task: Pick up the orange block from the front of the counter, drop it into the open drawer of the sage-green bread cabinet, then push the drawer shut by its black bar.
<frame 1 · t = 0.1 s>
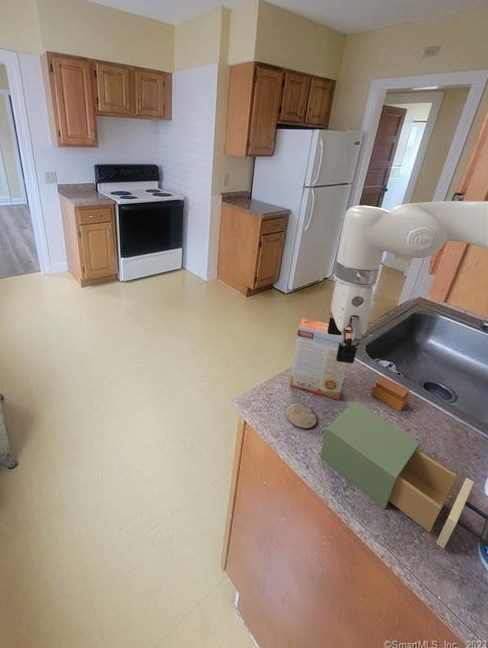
hand: (339, 346, 68), 28 cm above the worktop, tool pointing down, fingers open, 9 cm apart
cracker box: (314, 387, 96), on the worktop
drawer: (432, 495, 63), point 5 cm above the worktop, slide at 8.5 cm
orange block: (388, 398, 92), on the worktop
cabinet: (363, 464, 73), on the worktop
flatbread: (300, 417, 85), on the worktop
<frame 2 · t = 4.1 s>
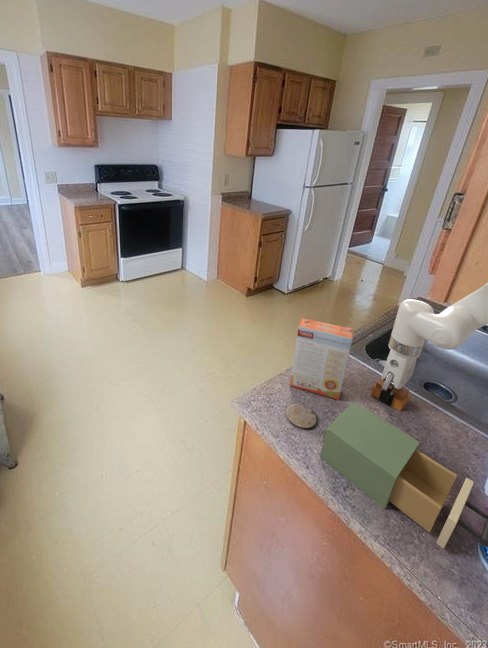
hand: (389, 397, 92), 0 cm above the worktop, tool pointing down, fingers closed on orange block, 5 cm apart
orange block: (388, 398, 92), on the worktop, touching gripper
everything else where it was.
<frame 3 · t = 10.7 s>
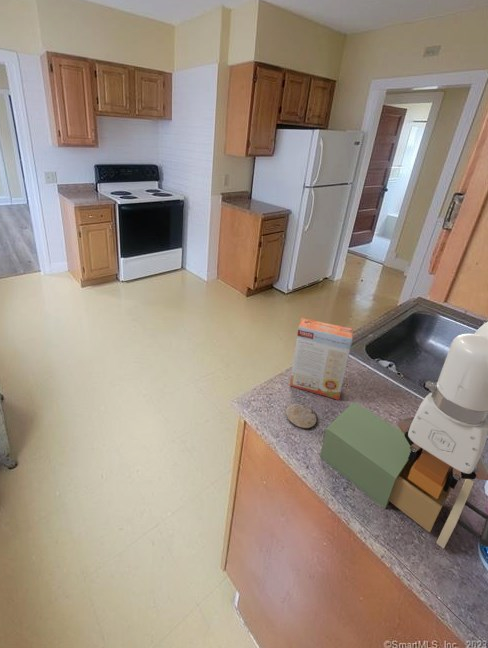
hand: (430, 474, 62), 9 cm above the worktop, tool pointing down, fingers closed on orange block, 5 cm apart
orange block: (429, 475, 62), point 8 cm above the worktop, touching gripper
everything else where it was.
when the fingers open (11 cm above the worktop, at t = 23.8 s): orange block drops 8 cm, resting on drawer.
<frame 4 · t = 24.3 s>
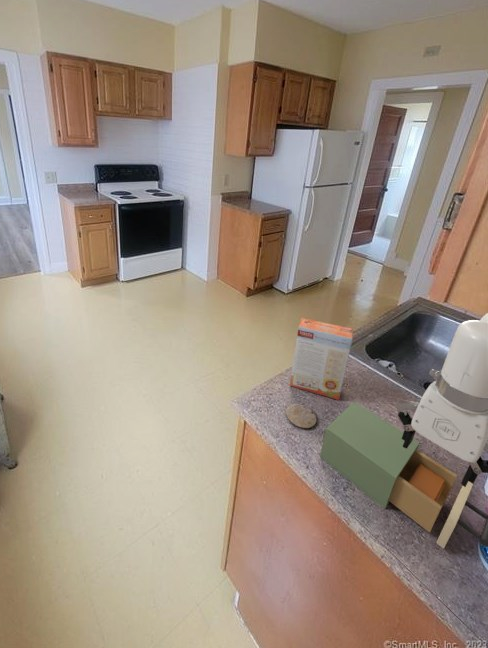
hand: (434, 461, 61), 12 cm above the worktop, tool pointing down, fingers open, 9 cm apart
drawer: (432, 495, 63), point 5 cm above the worktop, slide at 8.5 cm, touching orange block
orange block: (419, 497, 65), point 2 cm above the worktop, touching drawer
everything else where it was.
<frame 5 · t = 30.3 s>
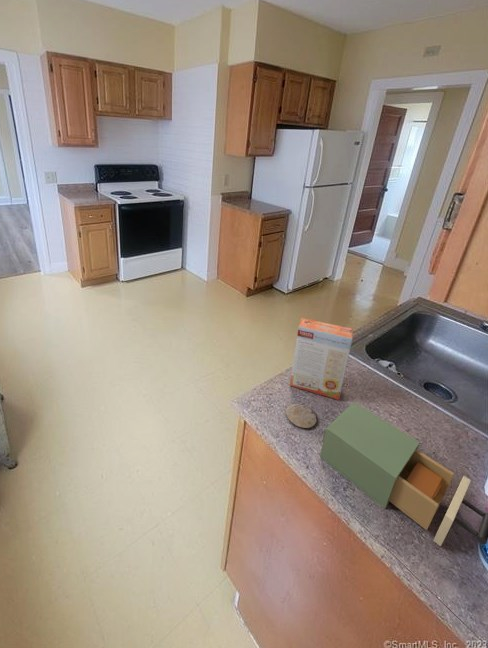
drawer: (429, 493, 63), point 5 cm above the worktop, slide at 8.0 cm, touching orange block, gripper
everything else where it was.
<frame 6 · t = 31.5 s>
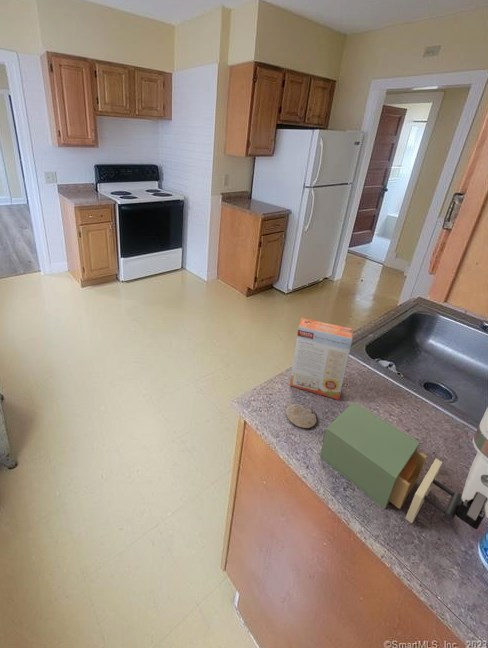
hand: (466, 519, 59), 5 cm above the worktop, tool pointing down, fingers closed
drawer: (403, 475, 66), point 5 cm above the worktop, slide at 3.3 cm, touching orange block, gripper
orange block: (392, 477, 68), point 2 cm above the worktop, touching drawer
everything else where it was.
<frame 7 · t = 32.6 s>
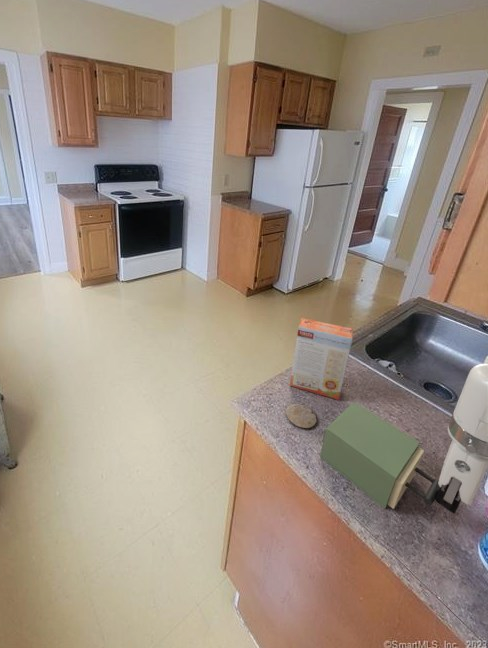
hand: (445, 504, 61), 5 cm above the worktop, tool pointing down, fingers closed
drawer: (387, 463, 69), point 5 cm above the worktop, slide at 0.0 cm, touching orange block, cabinet, gripper
orange block: (376, 466, 71), point 2 cm above the worktop, touching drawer
everything else where it was.
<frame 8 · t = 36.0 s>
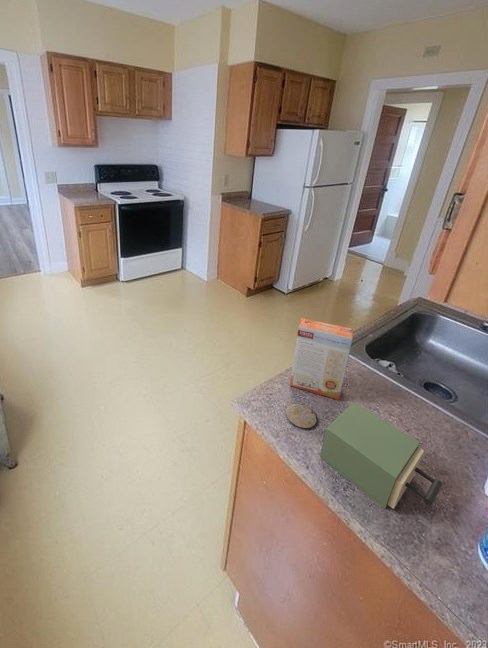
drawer: (387, 463, 69), point 5 cm above the worktop, slide at 0.0 cm, touching orange block, cabinet
everything else where it was.
at the end: orange block inside the target area in the cabinet (2.2 cm from its centre), point 2.0 cm above the cabinet's base; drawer slide at 0.0 cm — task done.
